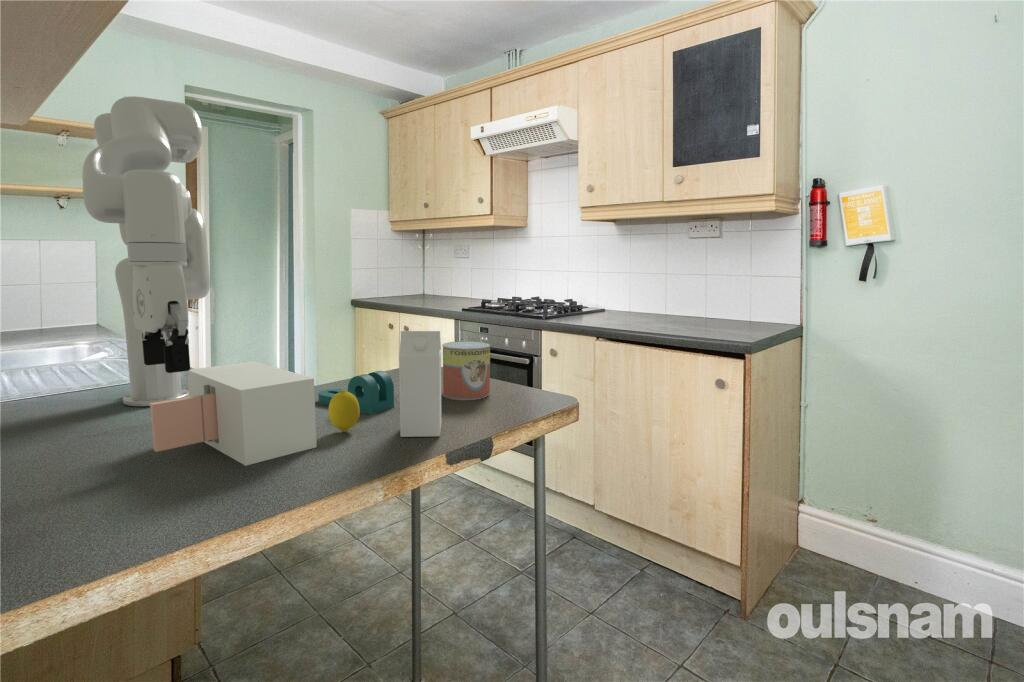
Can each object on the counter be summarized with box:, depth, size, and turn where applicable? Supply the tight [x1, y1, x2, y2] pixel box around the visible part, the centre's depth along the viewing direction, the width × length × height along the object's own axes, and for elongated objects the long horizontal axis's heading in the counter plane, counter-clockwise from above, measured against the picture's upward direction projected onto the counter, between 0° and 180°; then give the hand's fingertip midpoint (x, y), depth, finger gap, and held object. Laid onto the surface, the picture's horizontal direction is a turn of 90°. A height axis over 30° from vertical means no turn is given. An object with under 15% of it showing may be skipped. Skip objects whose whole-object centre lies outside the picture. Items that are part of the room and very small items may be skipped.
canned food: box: [441, 340, 491, 401], centre depth 134 cm, size 11×11×12 cm
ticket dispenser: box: [186, 360, 318, 467], centre depth 98 cm, size 13×22×12 cm, turn 48°
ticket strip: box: [149, 393, 218, 453], centre depth 94 cm, size 18×1×8 cm, turn 138°
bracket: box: [318, 370, 395, 415], centre depth 124 cm, size 18×7×8 cm, turn 60°
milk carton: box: [398, 330, 442, 438], centre depth 105 cm, size 7×7×19 cm
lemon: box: [328, 389, 361, 433], centre depth 105 cm, size 6×6×8 cm
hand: (166, 367), depth 88 cm, fingers open, 9 cm apart
